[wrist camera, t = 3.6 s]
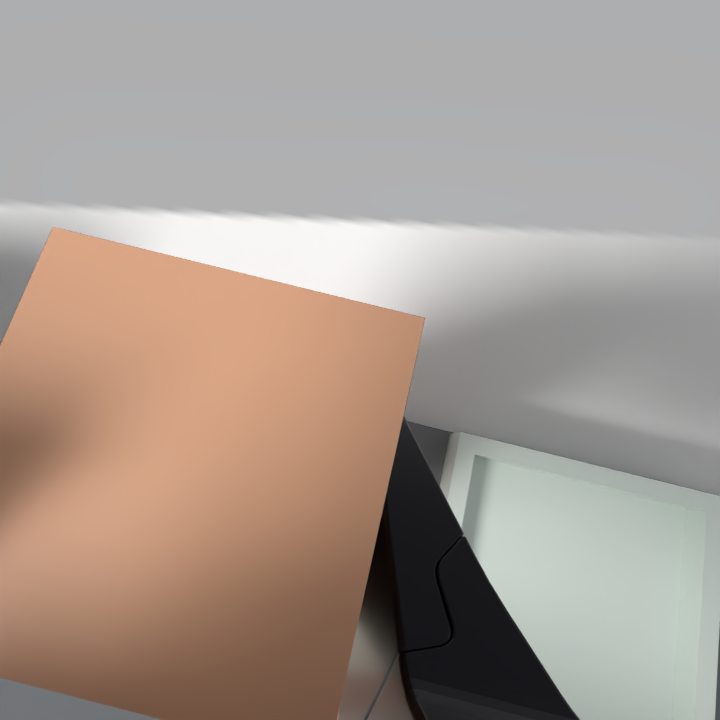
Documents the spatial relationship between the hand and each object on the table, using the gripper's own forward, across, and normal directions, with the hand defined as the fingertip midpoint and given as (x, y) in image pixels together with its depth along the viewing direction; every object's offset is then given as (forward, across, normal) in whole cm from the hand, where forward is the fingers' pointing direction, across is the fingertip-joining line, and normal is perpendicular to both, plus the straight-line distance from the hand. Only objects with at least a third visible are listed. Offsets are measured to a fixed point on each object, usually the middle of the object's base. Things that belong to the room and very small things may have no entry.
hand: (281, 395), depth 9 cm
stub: (+4, 0, +6) cm, 7 cm away
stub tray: (+2, -10, +8) cm, 12 cm away
